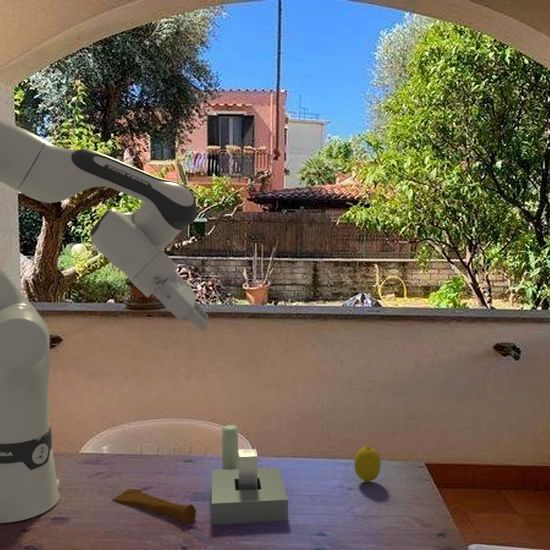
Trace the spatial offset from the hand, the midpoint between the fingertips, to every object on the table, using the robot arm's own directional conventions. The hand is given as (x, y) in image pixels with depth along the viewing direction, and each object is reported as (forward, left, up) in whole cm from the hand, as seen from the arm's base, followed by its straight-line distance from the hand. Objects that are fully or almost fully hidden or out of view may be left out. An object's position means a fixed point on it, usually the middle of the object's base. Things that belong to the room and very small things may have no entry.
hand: (206, 323), depth 111 cm
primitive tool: (-4, -13, -35) cm, 38 cm away
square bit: (+11, -3, -34) cm, 36 cm away
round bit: (+1, +8, -34) cm, 35 cm away
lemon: (+30, +16, -35) cm, 49 cm away
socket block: (+11, -3, -34) cm, 36 cm away
